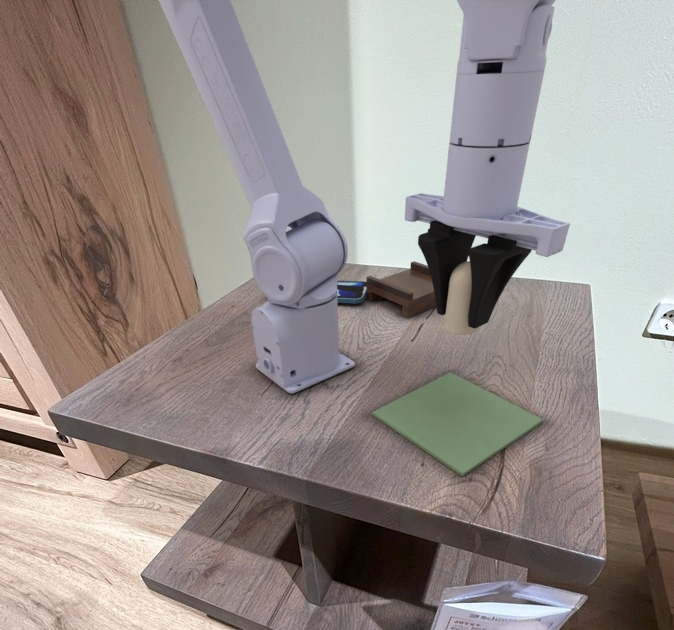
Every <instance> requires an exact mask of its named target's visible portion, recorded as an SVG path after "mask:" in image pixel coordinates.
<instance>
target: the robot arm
mask: <svg viewBox="0 0 674 630" xmlns="http://www.w3.org/2000/svg"><path fill="white" fill-rule="evenodd" d="M456 1H457V3H458V6H459V8H460V10H461V11H462V14H463V17H462V26H461V36H460V45H459V46H460V47H459V56H458V61H457V64H456V75H455V85H454V93H453V94H454V95H453V97H454V98H453V102H452V103H453V104H452V114H451V125H450V133H449V141H448V142H449V143H448V149H447V151H448V152H447V160H446V171H445V181H444V188H443V189H444V190H443V195H437V194H428V193H424V192H423V193H422V192H419V193H416V194H411V195H408V196H406V197H405V205H404V221H405V222H406V221H407V222H411V223H415V222H422V223H425V224H429V228H428V229H427V232H424V233H421V234H419V235H418V236H417V237H418V238H417V245H418V248H419V249H420V250H421V253H422V255H423V257H424V260H425V262H426V265H427V266H428V268H429V271H430V275H431V278H432V283H433V288H434V294H435V300H436V307H435V308H436V313H437V314H438V315H440V316H444V315H446V306H447V298H448V290H449V282H450V277H451V274H452V272H453V270H454V269H455V268H456V267H457V266H458V265H460V264H461V263H463V262H467V261H468V260H469V261H470V265H471V279H472V288H471V299H470V306H469V313H468V326H469V327H471V328H478V327H479V328H480V327H482V326H484V325H486V324H488V323H489V321H490V319H491V317H492V315H493V312H494V310H495V307H496V305H497V303H498V301H499V300H500V297H501V295H502V293H503V292H504V290H505V288H506V287H507V285H508V284H509V282H510V280H511V279H512V277H513V276H514V274H515V273H516V272H517V271H518V269H519V267H520V266H521V265H522V264H523V262H524V261H525V260H526V259H527V258H528V257H529V255H530V254H531V253H532V251H535V255H537V256H540V257H541V256H542V257H545V258H549V257H551V256H554V255H556V254H559V253H561V252H563V251H564V247H565V243H566V240H567V236H568V234H569V233H568V232H569V229H570V225H571V223H570V222H566V221H561V220H558V219H554V218H551V217H548V216H545V215H542V214H540V213H537V212H534V211H531V210H529V209H526V208H523V207H520V206H518V205H519V200H520V194H521V190H522V184H523V180H524V175H525V169H526V164H527V159H528V154H529V150H530V144H531V139H532V135H533V130H534V125H535V119H536V117H537V116H536V115H537V110H538V105H539V100H540V96H541V90H542V84H543V81H544V75H545V70H546V66H547V54H546V53H547V49H548V43H549V39H550V36H551V33H552V29H553V18H554V13H555V6H553V4H554V3H555V2H556V1H557V0H456ZM158 2H159V4H160V7H161V9H162V11H163V13H164V16H165V18H166V20H167V22H168V24H169V27H170V29H171V31H172V34H173V36H174V38H175V41H176V42H177V45H178V47H179V49H180V53H181V54H182V56H183V59H184V60H185V63H186V65H187V67H188V70H189V71H190V74H191V76H192V79H193V81H194V83H195V85H196V88H197V90H198V92H199V95H200V96H201V98H202V101H203V103H204V106H205V107H206V110H207V112H208V114H209V116H210V119H211V121H212V123H213V125H214V127H215V130H216V132H217V135H218V137H219V139H220V141H221V144H222V146H223V148H224V150H225V152H226V155H227V158H228V159H229V162H230V164H231V166H232V168H233V171H234V173H235V175H236V178H237V180H238V181H239V184H240V186H241V188H242V191H243V193H244V195H245V198H246V200H247V202H248V204H249V206H250V212H249V217H248V219H247V222H246V225H245V228H244V231H243V236H242V240H243V241H244V243H245V246H246V249H247V250H248V254H249V257H250V264H251V272H252V276H253V278H254V281H255V283H256V285H257V287H258V289H259V291H261V292H262V294H263V295H264V296H265V297H266V298H267V301H265V302H264V303H263V304H261V305H259V306H258V307H255V308H254V309H253V310H252V312H251V315H250V326H251V331H252V337H253V342H254V348H255V349H254V350H255V354H256V360H257V363H256V364H255V368H256V369H257V370H258V371H259V372H261V373H262V374H263V375H265V376H266V377H267V378H269V379H270V380H271V381H272V382H274V383H275V384H276V385H278V386H279V387H280V388H282V389H283V390H284V391H285V392H287V393H288V394H295V393H297V392H300V391H302V390H304V389H307V388H308V387H311V386H313V385H317V384H318V383H320V382H323V381H325V380H328V379H329V378H331V377H334V376H336V375H338V374H340V373H343V372H346V371H347V370H350V369H352V368H354V367H355V366H356V362H355V361H354V360H353V359H350V358H349V357H347V356H345V355H344V354H343V353H341V352H340V333H339V332H340V331H339V330H340V329H339V307H338V304H339V303H338V301H337V285H338V280H339V275H338V274H340V273H341V272H342V271H343V270H344V268H345V266H346V264H347V262H348V255H349V250H348V249H349V248H348V243H347V239H346V237H345V235H344V232H343V230H342V229H341V228H340V226H339V225H337V224H336V222H335V221H334V220H333V219H332V218H331V216H330V215H329V212H328V210H327V208H326V205H325V203H324V201H323V199H321V198H320V197H319V196H318V195H317V194H315V193H313V192H312V191H311V190H310V189H308V188H307V187H306V186H304V185H303V183H302V180H301V177H300V176H299V173H298V171H297V168H296V166H295V162H294V160H293V156H292V154H291V153H290V150H289V147H288V145H287V142H286V139H285V137H284V134H283V131H282V129H281V127H280V124H279V121H278V119H277V116H276V114H275V111H274V109H273V106H272V104H271V101H270V98H269V96H268V93H267V90H266V87H265V85H264V83H263V81H262V78H261V75H260V73H259V70H258V68H257V65H256V63H255V60H254V57H253V54H252V51H251V50H250V47H249V44H248V41H247V39H246V36H245V34H244V31H243V29H242V27H241V23H240V21H239V18H238V17H237V14H236V11H235V8H234V6H233V3H232V1H231V0H158ZM287 227H288V228H290V229H288V230H287ZM476 236H477V237H480V238H485V239H487V241H486V242H487V243H481V244H478V245H475V246H473V244H474V242H475V240H476V238H477V237H476Z"/></svg>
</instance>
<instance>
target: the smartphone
mask: <svg viewBox="0 0 674 630" xmlns="http://www.w3.org/2000/svg"><path fill="white" fill-rule="evenodd" d="M366 290H367V280H342V279H340V280H339V279H338V285H337V301H338V304H339V303H340V304H355V305H356V304H357V305H358V304H361V303H363V302H364V300H365V299H366Z"/></svg>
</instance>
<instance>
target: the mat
mask: <svg viewBox="0 0 674 630" xmlns="http://www.w3.org/2000/svg"><path fill="white" fill-rule="evenodd" d="M371 415H372V416H373V417H374V418H376V419H377V420H379V421H380V422H381V423H383V424H384V425H386V426H388V427H389V428H390V429H392V430H393V431H395V432H396V433H397V434H399V435H401V436H402V437H404V438H405V439H407V440H408V441H409V442H411V443H412V444H414V445H415V446H416V447H418V448H420V449H421V450H422V451H424V452H426V453H427V454H428V455H430V456H431V457H433V458H434V459H436V460H437V461H439V462H440V463H442V464H443V465H444V466H446V467H448V468H449V469H451V470H452V471H453V472H455V473H456V474H458V475H459V476H461V477H464V476H465V475H467V474H469V473H470V472H472V471H473V470H475V468H477V467H479V466H481V464H483V463H485V462H486V461H488V460H489V459H490V458H492V457H494V455H496V454H498V453H499V452H501V451H503V450H504V449H505V448H507V447H508V446H510V445H511V444H513V443H514V442H516V441H517V440H518V439H520V438H521V437H523V436H525V435H526V434H527V433H529V432H530V431H532V430H534V429H535V428H536V427H538V426H540V425H541V424H542V423H543V421H544V419H543V418H541V417H539V416H537V415H535V414H533V413H532V412H530V411H528V410H526V409H523V408H521V407H519V405H518V406H517V405H516V404H514V403H512V402H510V401H507V400H506V399H504V398H502V397H500V396H498V395H496V394H495V393H492V392H490V391H488V390H486V389H485V388H483V387H481V386H479V385H477V384H474V383H473V382H471V381H468V379H465V378H464V377H461V376H459V375H458V374H455V373H453V372H451V371H450V372H448V373H446V374H444V375H442V376H440V377H437V378H436V379H433V380H432V381H430V382H429V383H426V384H424V385H422V386H421V387H419V388H416V389H414V390H413V391H411V392H409V393H407V394H405V395H403V396H401V397H399V398H397V399H395V400H393V401H391V402H389V403H387V404H385V405H383V406H381V407H379V408H377V409H376V410H374V411H372V412H371Z"/></svg>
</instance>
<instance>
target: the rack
mask: <svg viewBox="0 0 674 630" xmlns="http://www.w3.org/2000/svg"><path fill="white" fill-rule="evenodd" d="M366 281H367V290H366V297H365V299H366V301H369V302H371V303H373V302H375V301H378V300H381V299H383V298H384V299H387V300H389V301H391V302H393V303H396V304H398V305H400V306H402V309H401V310H402V311H401V316H402V317H404V318H406V319H410V318H412V317H414V316H417V315H419V314H422V313H424V312H427V311H429V310H431V309H434V308H437V307H436V300H435V294H434V288H433V283H432V278H431V275H430V271H429V268H428V265H427V264H424V263H421V262H419V261H418V262H417V261H415V260H414V261H411V262H410V268H409V269H406V270H403V271H400V272H397V273H394V274H390V275H388V276H385V277H381V278H378V277H375V276H372V275H368V276H366Z"/></svg>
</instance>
